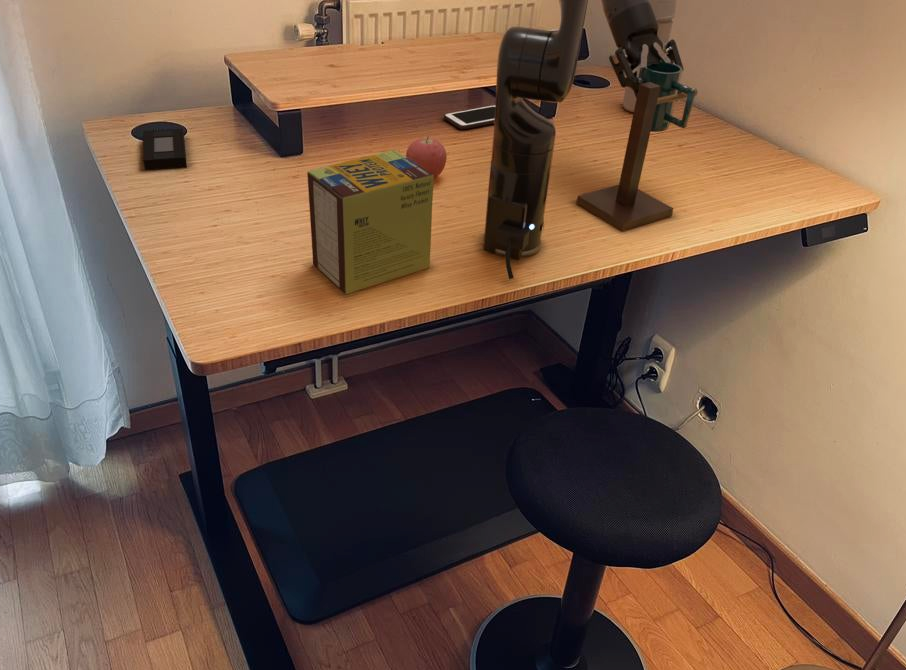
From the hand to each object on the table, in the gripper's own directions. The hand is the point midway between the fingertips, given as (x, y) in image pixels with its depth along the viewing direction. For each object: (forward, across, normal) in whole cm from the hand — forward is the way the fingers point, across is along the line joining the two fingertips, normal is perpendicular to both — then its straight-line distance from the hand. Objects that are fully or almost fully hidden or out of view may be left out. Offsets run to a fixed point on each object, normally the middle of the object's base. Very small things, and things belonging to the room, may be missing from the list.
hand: (662, 103), depth 136 cm
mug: (+4, 0, +3) cm, 4 cm away
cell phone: (-19, -6, +43) cm, 48 cm away
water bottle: (-12, +31, +36) cm, 49 cm away
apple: (-5, -33, +29) cm, 44 cm away
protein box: (+12, -57, +12) cm, 60 cm away
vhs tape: (-28, -72, +52) cm, 93 cm away
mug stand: (+14, -5, +9) cm, 18 cm away
